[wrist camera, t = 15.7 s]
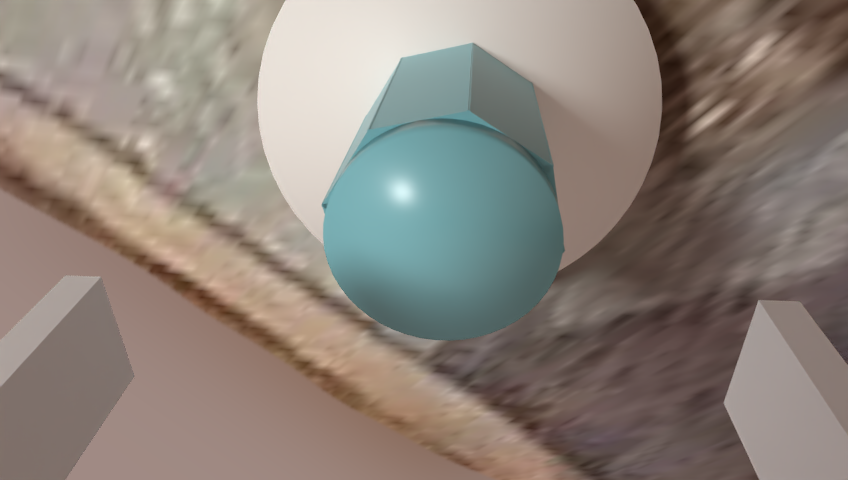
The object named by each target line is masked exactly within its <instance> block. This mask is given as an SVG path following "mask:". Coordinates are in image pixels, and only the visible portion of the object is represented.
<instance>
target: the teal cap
mask: <svg viewBox="0 0 848 480" xmlns="http://www.w3.org/2000/svg"><path fill="white" fill-rule="evenodd" d="M553 167H554V164H553V160H552V157H551V153H550V149H549V145H548V141H547V137H546V133H545V129H544V125H543V122H542V118H541V114H540V110H539V106H538V102H537V98H536V94H535V91H534V87H533V83H532V82H530V81H528V80H527V79H525V78H524V77H522V76H521V75H519V74H518V73H516V72H515V71H513V70H512V69H511V68H509V67H508V66H506V65H505V64H503V63H502V62H500V61H499V60H497V59H496V58H494V57H493V56H491V55H490V54H489V53H487V52H486V51H484V50H483V49H481V48H480V47H478V46H477V45H475V44H474V43H469V44H464V45H460V46H455V47H450V48H446V49H441V50H436V51H431V52H427V53H422V54H417V55H413V56H408V57H402V58H401V59H400V61H399V63H398V65H397V66H396V68H395V70H394V71H393V73H392V75H391V76H390V78H389V79H388V81H387V83H386V84H385V86H384V88H383V89H382V91H381V93H380V94H379V96H378V98H377V99H376V101H375V103H374V104H373V106H372V107H371V109H370V111H369V112H368V114H367V115H366V116H365V118H364V120H363V122H362V124H361V126H360V128H359V130H358V132H357V134H356V136H355V138H354V140H353V142H352V144H351V146H350V148H349V150H348V152H347V154H346V156H345V158H344V160H343V162H342V164H341V166H340V168H339V170H338V172H337V174H336V176H335V178H334V180H333V182H332V184H331V186H330V188H329V190H328V192H327V194H326V196H325V198H324V200H323V202H322V207H323V210H324V213H325V217H324V223H323V241H324V249H325V253H326V257H327V261H328V264H329V266H330V269H331V271H332V273H333V276H334V277H335V279H336V281H337V282H338V284H339V286H340V287H341V289H342V290H343V291H344V293H345V294H346V295H347V296H348V298H349V299H350V300H351V301H352V302H353V303H354V304H355V305H356V306H357V307H358V308H359V309H361V310H362V311H363V312H365V313H366V314H367V315H368V316H370V317H371V318H373V319H375V320H376V321H378V322H379V323H381V324H383V325H385V326H387V327H389V328H391V329H393V330H396V331H399V332H401V333H404V334H407V335H411V336H415V337H419V338H425V339H432V340H462V339H469V338H475V337H479V336H483V335H486V334H490V333H493V332H495V331H497V330H500V329H502V328H505V327H506V326H508V325H510V324H512V323H514V322H515V321H517V320H518V319H520V318H521V317H523V316H524V315H525V314H527V313H528V312H529V311H530V310H531V309H532V308H533V307H534V306H535V305H537V304H538V303H539V301H540V300H541V299H542V298H543V296H544V295H545V294H546V293H547V291H548V289H549V288H550V286H551V284H552V283H553V281H554V279H555V277H556V274H557V272H558V269H559V266H560V262H561V259H562V254H563V253H564V251H565V248H564V236H563V225H562V220H561V215H560V211H559V207H558V199H557V192H556V184H555V177H554V169H553Z"/></svg>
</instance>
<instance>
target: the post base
mask: <svg viewBox="0 0 848 480" xmlns="http://www.w3.org/2000/svg"><path fill="white" fill-rule="evenodd" d="M469 43H474V44H475V45H477V46H478V47H480V48H481V49H483V50H484V51H486V52H487V53H489V54H490V55H491V56H493V57H494V58H496V59H497V60H499V61H500V62H502V63H503V64H505V65H506V66H508V67H509V68H511V69H512V70H513V71H515V72H516V73H518V74H519V75H521V76H522V77H524V78H525V79H527V80H528V81H530V82H532V83H533V87H534V91H535V94H536V98H537V102H538V106H539V110H540V114H541V118H542V122H543V125H544V129H545V133H546V137H547V141H548V145H549V149H550V153H551V157H552V160H553V164H554V167H553V169H554V177H555V184H556V192H557V199H558V207H559V211H560V215H561V220H562V225H563V236H564V248H565V251H564V253H563V254H562V259H561V262H560V266H559V269H558V271H560V270H561V269H563V268H565V267H566V266H568V265H569V264H571V263H572V262H574V261H576V260H577V259H579V258H580V257H582V256H583V255H584V254H585V253H587V252H588V251H589V250H590V249H592V248H593V247H594V246H595V245H596V244H598V243H599V242H600V241H601V240H602V239H603V238H604V237H605V236H606V235H607V234H608V233H609V232H610V231H611V230H612V229H613V227H614V226H615V225H616V224H617V223H618V222H619V220H620V219H621V218H622V216H623V215H624V214H625V212H626V211H627V210H628V208H629V207H630V206H631V204H632V202H633V200H634V199H635V197H636V195H637V193H638V192H639V190H640V188H641V186H642V185H643V182H644V180H645V178H646V175H647V173H648V170H649V168H650V166H651V163H652V160H653V157H654V153H655V149H656V145H657V142H658V138H659V132H660V123H661V115H662V83H661V76H660V70H659V64H658V58H657V54H656V51H655V48H654V45H653V41H652V38H651V35H650V32H649V29H648V27H647V25H646V23H645V21H644V19H643V17H642V15H641V13H640V11H639V9H638V6H637V4H636V3H635V1H634V0H286V1H285V2H284V4H283V6H282V8H281V10H280V12H279V14H278V16H277V18H276V20H275V22H274V24H273V26H272V29H271V32H270V35H269V37H268V40H267V43H266V46H265V49H264V53H263V58H262V63H261V68H260V73H259V82H258V100H257V104H258V117H259V128H260V133H261V138H262V142H263V147H264V152H265V154H266V157H267V160H268V163H269V166H270V169H271V172H272V174H273V176H274V178H275V180H276V182H277V184H278V186H279V188H280V190H281V192H282V195H283V196H284V198H285V199H286V201H287V202H288V204H289V205H290V207H291V208H292V210H293V211H294V213H295V214H296V216H297V217H298V218H299V219H300V220H301V222H302V223H303V224H304V225H305V226H306V228H307V229H308V230H309V231H310V232H311V233H312V234H313V235H314V236H315V237H316V238H317V239H318V240H319V241H320V242H321V243H322V244H323V245H324V241H323V223H324V217H325V213H324V210H323V207H322V202H323V200H324V198H325V196H326V194H327V192H328V190H329V188H330V186H331V184H332V182H333V180H334V178H335V176H336V174H337V172H338V170H339V168H340V166H341V164H342V162H343V160H344V158H345V156H346V154H347V152H348V150H349V148H350V146H351V144H352V142H353V140H354V138H355V136H356V134H357V132H358V130H359V128H360V126H361V124H362V122H363V120H364V118H365V116H366V115H367V114H368V112H369V111H370V109H371V107H372V106H373V104H374V103H375V101H376V99H377V98H378V96H379V94H380V93H381V91H382V89H383V88H384V86H385V84H386V83H387V81H388V79H389V78H390V76H391V75H392V73H393V71H394V70H395V68H396V66H397V65H398V63H399V61H400V59H401V58H402V57H408V56H413V55H417V54H422V53H427V52H431V51H436V50H441V49H446V48H450V47H455V46H460V45H464V44H469Z"/></svg>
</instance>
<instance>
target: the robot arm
mask: <svg viewBox="0 0 848 480" xmlns="http://www.w3.org/2000/svg"><path fill="white" fill-rule="evenodd" d="M133 377H134V373H133V371H132V367H131V364H130V362H129V358H128V355H127V352H126V349H125V346H124V344H123V341H122V338H121V335H120V332H119V329H118V326H117V323H116V320H115V317H114V314H113V311H112V308H111V305H110V302H109V299H108V296H107V293H106V290H105V287H104V284H103V281H102V278H101V277H94V276H64V278H62V280H60V281H59V283H57V285H56V286H54V287H53V288H52V289H51V290H50V291H49V292H48V293H47V294H46V296H44V297H43V298H42V299H41V300H40V301H39V302H38V303H37V304H36V305H35V306H34V307H33V308H32V309H31V310H30V311H29V312H28V313H27V314H26V315H25V316H24V317H23V318H22V319H21V321H19V322H18V323H17V324H16V325H15V326H14V327H13V328H12V329H11V330H10V331H9V332H8V333H7V334H6V335H5V336H4V337H3V338H2V339H1V340H0V480H65V479H66V478H67V476H68V475H69V473H70V472H71V470H72V469H73V467H74V466H75V464H76V463H77V461H78V460H79V458H80V456H81V455H82V454H83V452H84V451H85V449H86V448H87V446H88V445H89V443H90V442H91V440H92V439H93V437H94V436H95V434H96V433H97V431H98V430H99V428H100V427H101V425H102V424H103V422H104V421H105V419H106V418H107V416H108V415H109V413H110V412H111V410H112V409H113V407H114V406H115V404H116V403H117V401H118V400H119V398H120V397H121V395H122V394H123V392H124V391H125V389H126V388H127V386H128V385H129V384H130V382H131V380H132V379H133ZM724 405H725V407H726V409H727V411H728V414H729V416H730V418H731V420H732V422H733V424H734V426H735V429H736V431H737V433H738V435H739V437H740V439H741V442H742V444H743V446H744V448H745V450H746V452H747V454H748V457H749V459H750V461H751V463H752V465H753V467H754V469H755V472H756V474H757V476H758V478H759V480H848V365H847V364H846V362H845V361H844V360H843V358H842V357H841V356H840V354H839V353H838V352H837V350H836V349H835V348H834V346H833V345H832V344H831V342H830V341H829V340H828V338H827V337H826V336H825V334H824V333H823V332H822V330H821V329H820V328H819V326H818V325H817V324H816V322H815V321H814V320H813V318H812V317H811V316H810V314H809V313H808V312H807V310H806V309H805V308H804V306H803V305H802V304H801V302H800V301H773V300H758V303H757V306H756V309H755V312H754V315H753V318H752V321H751V324H750V327H749V330H748V333H747V336H746V339H745V341H744V344H743V347H742V350H741V353H740V356H739V359H738V362H737V365H736V368H735V371H734V374H733V377H732V380H731V383H730V386H729V389H728V392H727V395H726V398H725V400H724Z"/></svg>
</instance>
